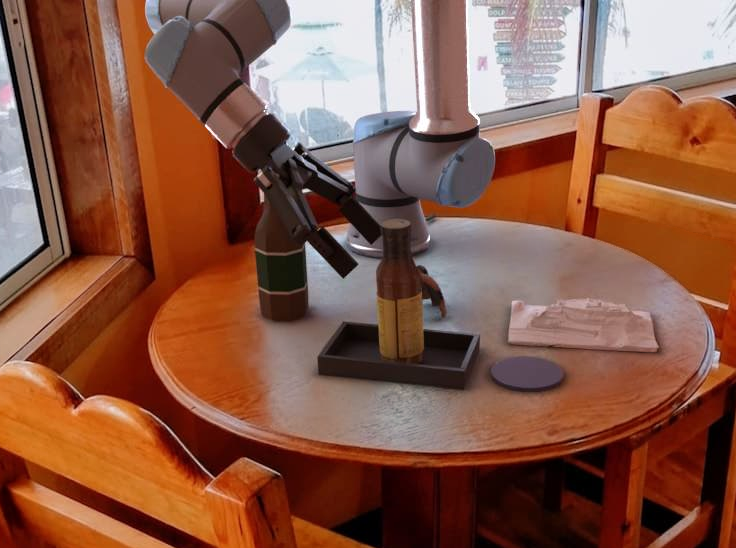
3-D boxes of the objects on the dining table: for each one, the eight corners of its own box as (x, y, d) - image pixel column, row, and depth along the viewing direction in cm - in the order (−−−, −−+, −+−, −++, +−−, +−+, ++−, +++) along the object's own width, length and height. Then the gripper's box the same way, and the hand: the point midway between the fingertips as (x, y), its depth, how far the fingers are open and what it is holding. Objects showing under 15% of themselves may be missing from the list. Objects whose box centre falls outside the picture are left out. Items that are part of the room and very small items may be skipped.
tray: (343, 338, 146) (342, 321, 145) (479, 351, 143) (480, 333, 141) (318, 374, 136) (317, 356, 135) (463, 389, 132) (464, 371, 131)
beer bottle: (250, 317, 153) (235, 159, 140) (277, 300, 159) (265, 147, 145) (293, 326, 150) (281, 166, 137) (319, 308, 156) (310, 153, 143)
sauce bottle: (427, 353, 141) (428, 216, 130) (419, 372, 136) (420, 231, 125) (382, 350, 142) (380, 214, 131) (373, 368, 137) (370, 228, 126)
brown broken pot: (450, 329, 150) (425, 288, 145) (396, 349, 154) (370, 310, 149) (453, 282, 158) (430, 242, 153) (402, 302, 162) (378, 264, 157)
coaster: (496, 356, 141) (496, 353, 141) (566, 363, 139) (566, 359, 139) (485, 387, 133) (485, 383, 133) (558, 395, 131) (559, 391, 131)
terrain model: (501, 315, 157) (501, 284, 154) (645, 309, 156) (647, 278, 154) (509, 358, 143) (509, 325, 140) (667, 352, 142) (671, 319, 140)
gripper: (266, 129, 138) (370, 242, 144) (193, 176, 118) (318, 305, 123) (299, 91, 134) (406, 208, 140) (230, 133, 114) (358, 268, 119)
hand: (365, 254), depth 132 cm, fingers open, 13 cm apart
